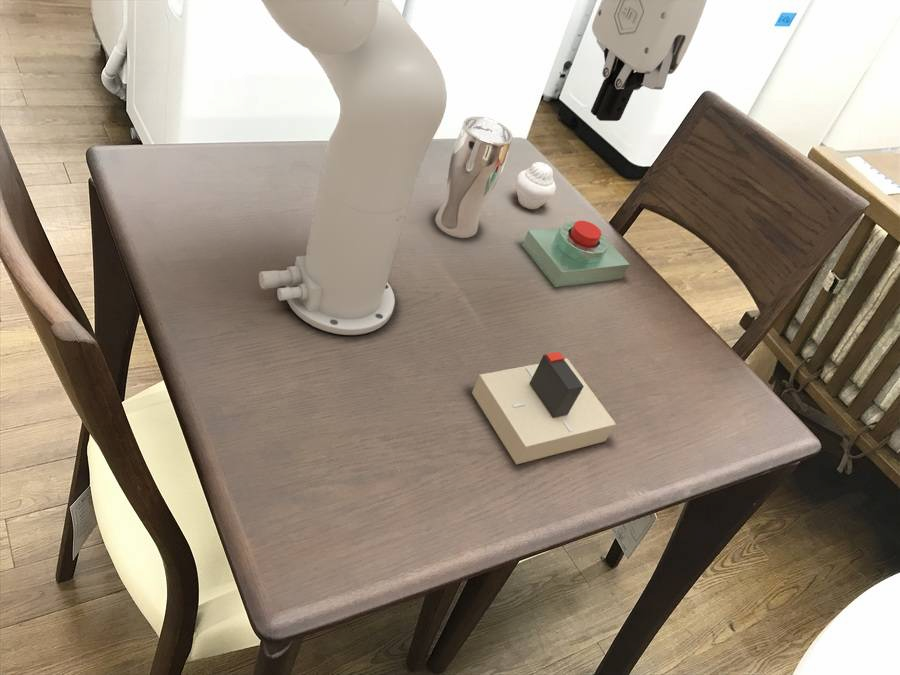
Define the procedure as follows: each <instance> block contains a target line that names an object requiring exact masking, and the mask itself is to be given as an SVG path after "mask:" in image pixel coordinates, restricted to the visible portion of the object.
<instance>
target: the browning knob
mask: <svg viewBox="0 0 900 675" xmlns="http://www.w3.org/2000/svg"><path fill="white" fill-rule="evenodd" d="M564 359H565V358H564V356H563V354H561V352H560V351H557V352H551V353H545V354H543V355H542V358H541V359H540V361H539V363H538V364H539V365H538V367H537V369H536V371H535V373H534V375H533V377H532V379H531V381H530V385H531V387H532V388H533V389H534V391H535V392H536V394H537V395H538V397H539V398H540V400H541V401H542V403H543V404H544V406H545V407H546V409H547V410H548V411H549V413H550V414H551V416H552V417H553V418H555V417H559V416H564V415H568V413H569V411H570V410H571V408H572V406H573V404H574V403H575V401H576V399H577V397H578V396H579V394H580V392H581V390H582V389H583V387H584V386H583V385H582V383H581V382H580V380H579V379H578V378H577V376H576V375H575V374H574V372H573V371H572V370H571V368H570V367H569V366H568V364H567V363H566V361H565V360H564Z"/></svg>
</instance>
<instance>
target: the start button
mask: <svg viewBox="0 0 900 675" xmlns="http://www.w3.org/2000/svg"><path fill="white" fill-rule="evenodd" d="M574 222H575V223H574V225H573V228H572V230H571V232H570V238H571V239H572V240H573V241H574V242H576V243H578V244H579V245H581V246H585V247H588V248H593V247H595V246H596V245H597V243H598V241H599V239H600V237H601V233H602V231H601V229H600V228H599V227H598V226H597V225H596V224H594V223H592V222H591V221H586V220H576V221H574Z"/></svg>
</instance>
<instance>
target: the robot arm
mask: <svg viewBox="0 0 900 675" xmlns="http://www.w3.org/2000/svg"><path fill="white" fill-rule="evenodd" d="M260 1H261V2H262V3H263V6H264V7H265V9H266V11H267V12H268V14H269V15H270V16H271V18H272V20H274V22H275V23H276V24H277V25H278V27H279V28H280V29H281V30H282V31H283V32H284V33H285V34H286V35H287V36H288V37H289V38H290V39H292V40H293V41H294V42H296V43H297V44H299V46H301V47H304V48H305V49H307V50H308V51H309V52H310V54H311V55H312V56H313V58H314V59H315V60H316V61H317V62H318V64H319V65H320V67H321V68H322V70H323V72H324V74H325V76H326V77H327V79H328V80H329V83H330V85H331V87H332V89H333V91H334V93H335V95H336V97H337V98H338V101H339V117H338V120H337V123H336V126H335V127H334V129H333V132H332V134H331V135H330V137H329V139H328V142H327V144H326V147H325V151H324V153H323V158H322V163H321V169H320V174H319V181H318V186H317V191H316V196H315V202H314V208H313V213H312V219H311V224H310V230H309V233H308V240H307V245H306V250H305V255H298V256H296V257H295V263H294V265H291V266H287V267H286V269H285V270H276V269H275V270H264V271H263V270H262V271H259V273H258V282H259V286H260V288H261V290H267V289H276V295H277V299H278V301H280V302H281V301H287V303H288V305H289V307H290V309H291V310H292V311H293V312H294V313H295V315H297V316H298V317H299V318H300V319H301V320H303V321H304V322H305V323H307V324H308V325H311V326H312V327H314V328H316V329H319V330H321V331H324V332H327V333H332V334H335V335H343V336H357V335H364V334H368V333H371V332H375V331H376V330H378V329H380V328H382V327H383V326H385V324H387V323H388V321H389V320H390V318H391V317H392V314H393V312H394V309H395V303H396V299H395V298H396V297H395V294H394V291H393V288H392V287H391V285H390V284H389V282H388V280H389V277H390V273H391V270H392V266H393V263H394V259H395V255H396V253H397V248H398V245H399V241H400V238H401V233H402V230H403V227H404V223H405V220H406V218H407V217H406V216H407V213H408V209H409V206H410V202H411V198H412V195H413V191H414V187H415V184H416V180H417V177H418V174H419V171H420V168H421V165H422V163H423V161H424V158H425V156H426V153H427V150H428V148H429V146H430V145H431V143H432V141H433V139H434V137H435V135H436V134H437V131H438V129H439V128H440V126H441V123H442V121H443V119H444V116H445V112H446V108H447V97H448V96H447V94H448V92H447V85H446V81H445V77H444V75H443V72H442V69H441V67H440V65H439V64H438V61H437V60H436V58H435V56H434V55H433V53H432V51H430V49H429V47H428V46H427V45H426V44H425V43H424V41H423V39H422V38H421V37H420V36H419V34H418V33H417V32H416V31H415V30H414V29H413V27H412V26H411V25H410V23H409V21H407V20H406V18H405V17H404V15H403V14H402V13H401V11H400V10H399V9H398V8H397V6H396V5H395V3H394V2H393V1H392V0H260ZM707 1H708V0H601V1H600V4H599V6H598V8H597V11H596V12H595V15H594V19H593V21H592V25H591V30H592V33H593V35H594V37H595V39H596V43H597V44H598V47H599V48H600V49H601V51H602V52H603V58H604V64H603V68H602V73H601V74H602V77H603V78H604V79H603V81H602V82H601V85H600V88H599V90H598V93H597V96H596V97H595V100H594V102H593V104H592V106H591V109H590V113H591V114H592V115H593V116H595V118H596V119H597V120H598V121H600V122H618V121H620V120H621V118H622V116H623V115H624V112H625V110H626V109H627V106H628V103H629V102H630V99H631V98H632V95H633V92H634V91H639V90H640V89H641V88H643V87H644V88H647V89H650V90H661V91H662V90H663V89H664V88H665V86H666V83H667V79H668V76H669V75H671V74H674V73H675V72H676V70H677V69H678V67H679V66H680V64H681V63H682V60H683V58H684V56H686V53H687V51H688V49H689V47H690V44H691V42H692V40H693V37H694V35H695V33H696V30H697V29H698V26H699V24H700V21H701V18H702V16H703V13H704V10H705V6H706V3H707Z"/></svg>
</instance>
